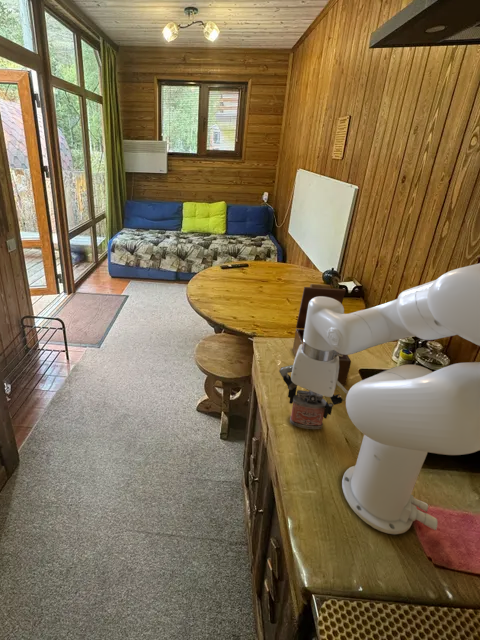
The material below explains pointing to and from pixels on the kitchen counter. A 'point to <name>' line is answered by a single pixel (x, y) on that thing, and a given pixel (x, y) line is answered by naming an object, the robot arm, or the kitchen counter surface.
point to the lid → (313, 292)
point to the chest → (343, 361)
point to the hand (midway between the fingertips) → (308, 406)
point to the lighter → (308, 410)
